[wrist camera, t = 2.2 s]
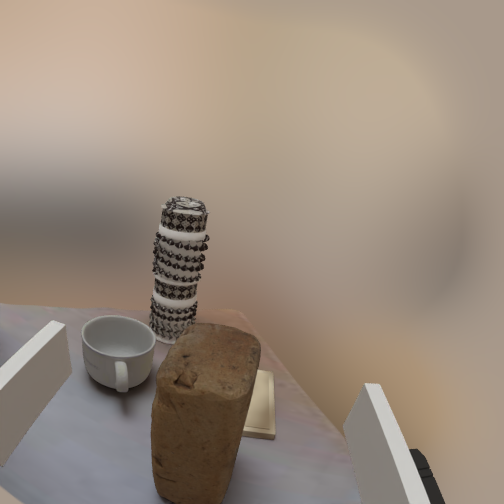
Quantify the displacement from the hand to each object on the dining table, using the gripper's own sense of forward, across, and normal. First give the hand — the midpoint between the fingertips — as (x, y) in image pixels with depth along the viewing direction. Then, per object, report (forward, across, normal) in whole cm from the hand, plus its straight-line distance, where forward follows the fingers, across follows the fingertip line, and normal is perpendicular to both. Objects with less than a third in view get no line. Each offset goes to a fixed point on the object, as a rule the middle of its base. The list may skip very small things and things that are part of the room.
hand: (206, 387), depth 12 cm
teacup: (+23, -14, -24) cm, 36 cm away
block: (+10, 0, -24) cm, 26 cm away
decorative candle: (+40, -10, -24) cm, 48 cm away
